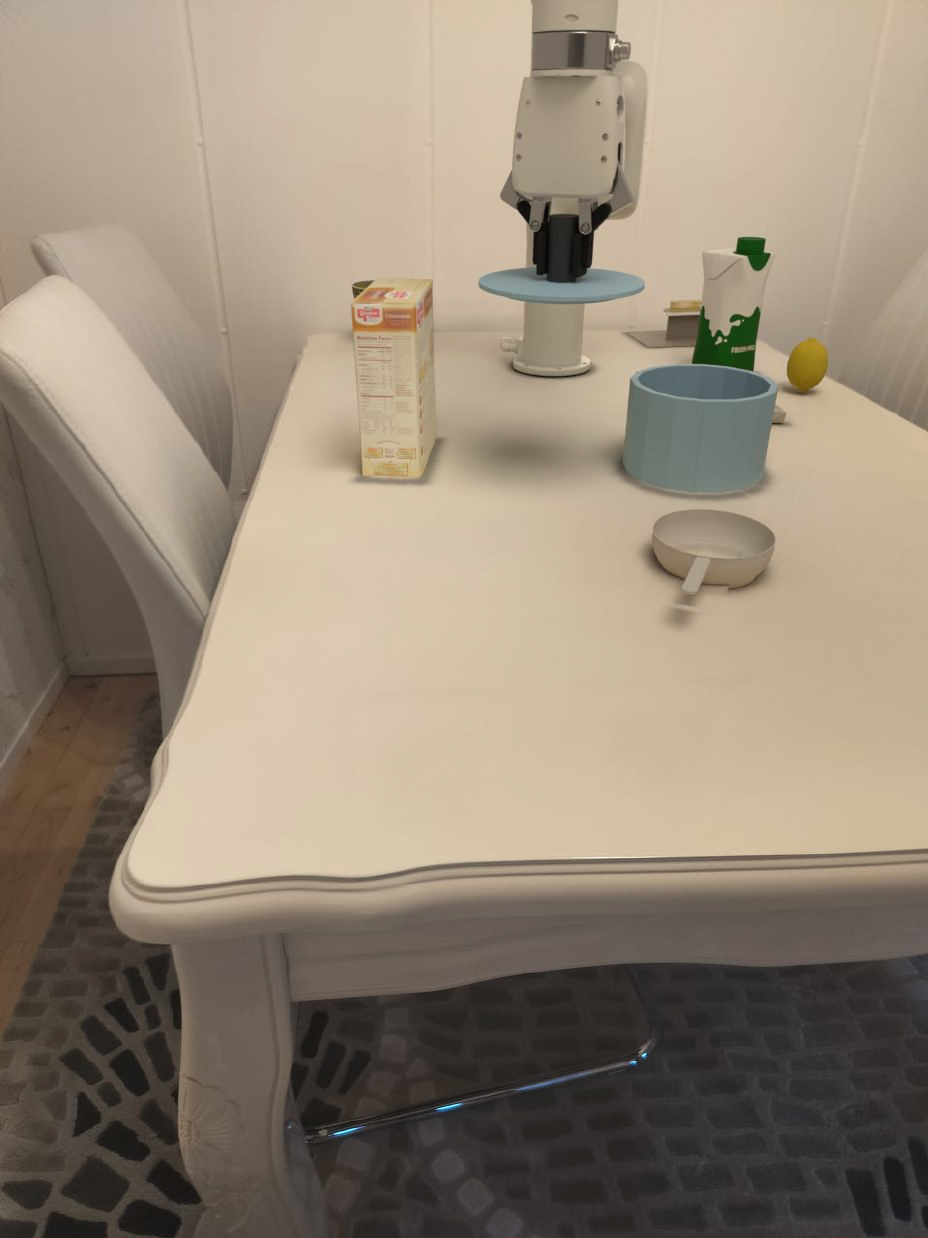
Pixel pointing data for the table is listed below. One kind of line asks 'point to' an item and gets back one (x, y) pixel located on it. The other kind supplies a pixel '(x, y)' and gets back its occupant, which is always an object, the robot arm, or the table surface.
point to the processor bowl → (698, 427)
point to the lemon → (807, 364)
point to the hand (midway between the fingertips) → (561, 272)
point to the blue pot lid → (561, 274)
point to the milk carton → (732, 304)
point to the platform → (675, 327)
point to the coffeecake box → (395, 375)
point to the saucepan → (720, 530)
